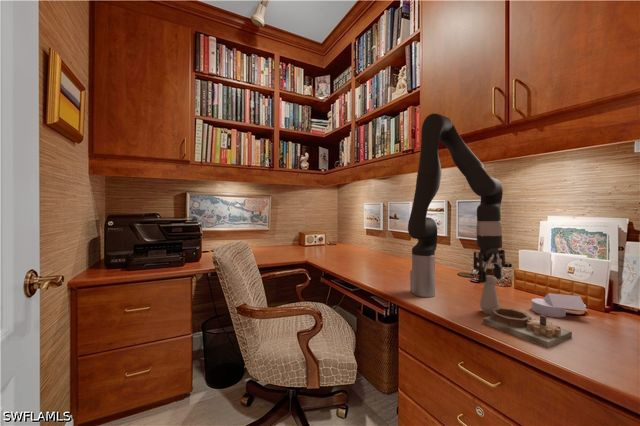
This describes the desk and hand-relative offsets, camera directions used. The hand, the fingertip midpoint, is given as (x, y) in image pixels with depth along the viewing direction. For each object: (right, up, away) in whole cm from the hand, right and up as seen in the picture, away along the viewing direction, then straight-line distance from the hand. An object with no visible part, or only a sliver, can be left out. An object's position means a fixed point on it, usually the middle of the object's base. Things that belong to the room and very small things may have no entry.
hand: (490, 280), depth 90 cm
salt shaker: (0, -12, 0) cm, 12 cm away
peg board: (+2, -12, -13) cm, 17 cm away
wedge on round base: (+23, -12, 0) cm, 25 cm away
